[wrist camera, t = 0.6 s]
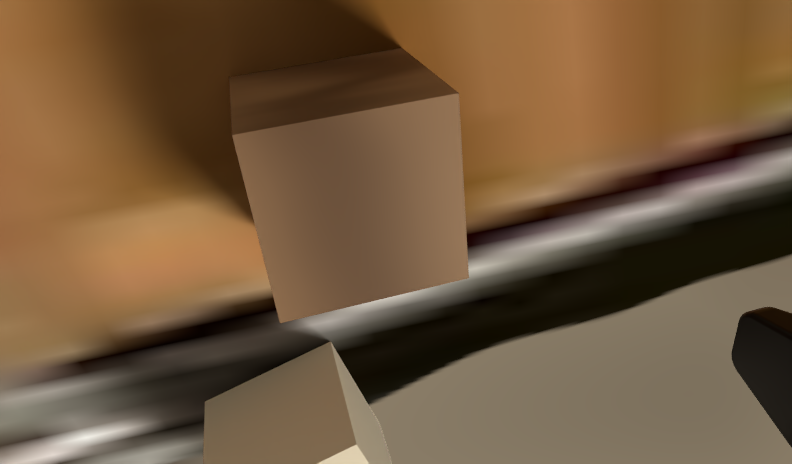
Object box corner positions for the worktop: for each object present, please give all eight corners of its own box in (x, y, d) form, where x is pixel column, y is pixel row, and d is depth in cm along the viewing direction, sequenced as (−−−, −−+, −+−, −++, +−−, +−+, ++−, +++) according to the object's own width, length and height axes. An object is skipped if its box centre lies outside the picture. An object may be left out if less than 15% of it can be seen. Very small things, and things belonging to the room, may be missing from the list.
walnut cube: (401, 47, 18) (459, 92, 13) (416, 198, 20) (468, 277, 16) (228, 76, 17) (231, 135, 13) (266, 230, 19) (280, 323, 15)
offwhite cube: (329, 340, 22) (356, 444, 18) (379, 423, 25) (413, 532, 20) (205, 400, 22) (201, 519, 18) (268, 477, 24) (278, 598, 20)
